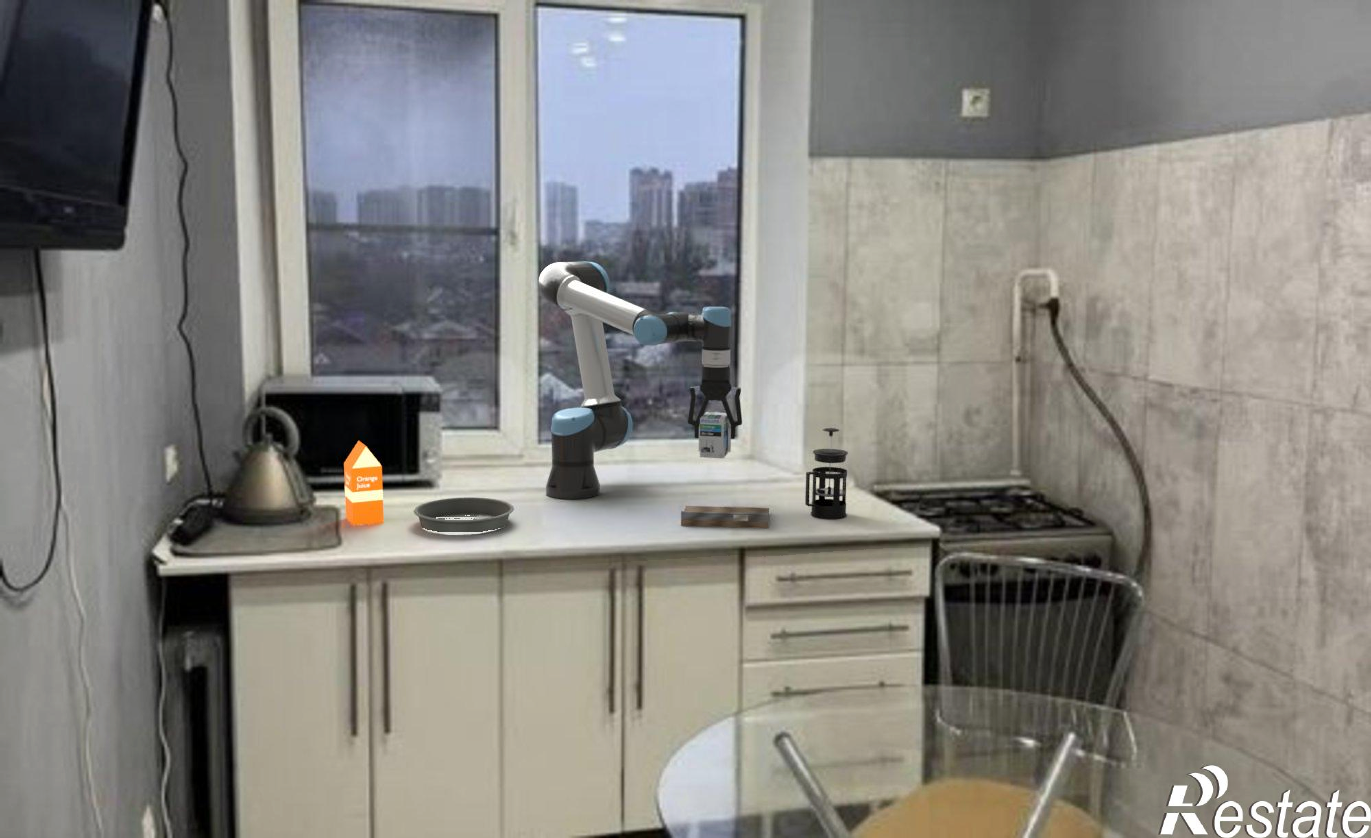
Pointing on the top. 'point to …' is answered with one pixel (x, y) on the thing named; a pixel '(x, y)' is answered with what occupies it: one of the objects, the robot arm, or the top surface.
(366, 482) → the orange juice
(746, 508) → the shelf board
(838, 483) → the french press
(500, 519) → the cake pan
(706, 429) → the light bulb box
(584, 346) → the robot arm
